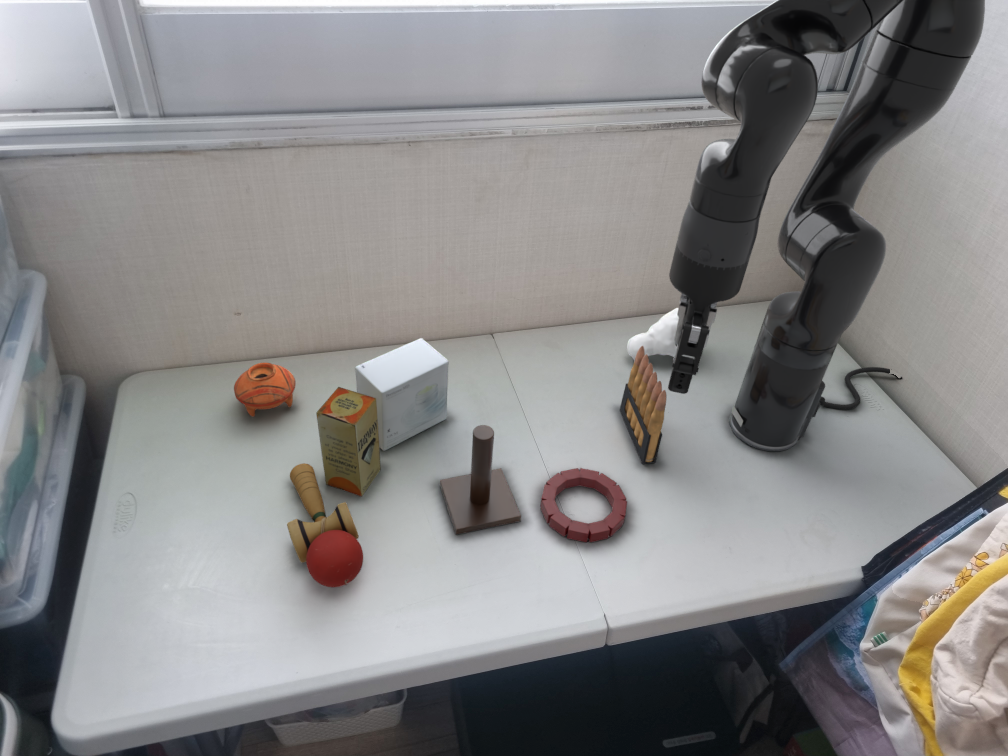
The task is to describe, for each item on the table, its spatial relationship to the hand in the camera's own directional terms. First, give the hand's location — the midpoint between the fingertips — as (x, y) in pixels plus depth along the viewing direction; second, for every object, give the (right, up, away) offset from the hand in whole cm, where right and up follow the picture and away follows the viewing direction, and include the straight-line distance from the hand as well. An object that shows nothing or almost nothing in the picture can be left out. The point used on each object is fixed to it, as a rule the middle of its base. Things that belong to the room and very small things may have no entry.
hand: (680, 367), depth 89 cm
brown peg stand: (-23, -16, +4) cm, 29 cm away
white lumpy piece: (+4, +2, +29) cm, 29 cm away
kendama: (-42, -19, 0) cm, 46 cm away
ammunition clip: (-2, -9, +15) cm, 18 cm away
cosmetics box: (-34, -7, +15) cm, 38 cm away
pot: (-53, -5, +16) cm, 55 cm away
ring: (-11, -17, +5) cm, 21 cm away
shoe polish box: (-39, -14, +7) cm, 42 cm away
